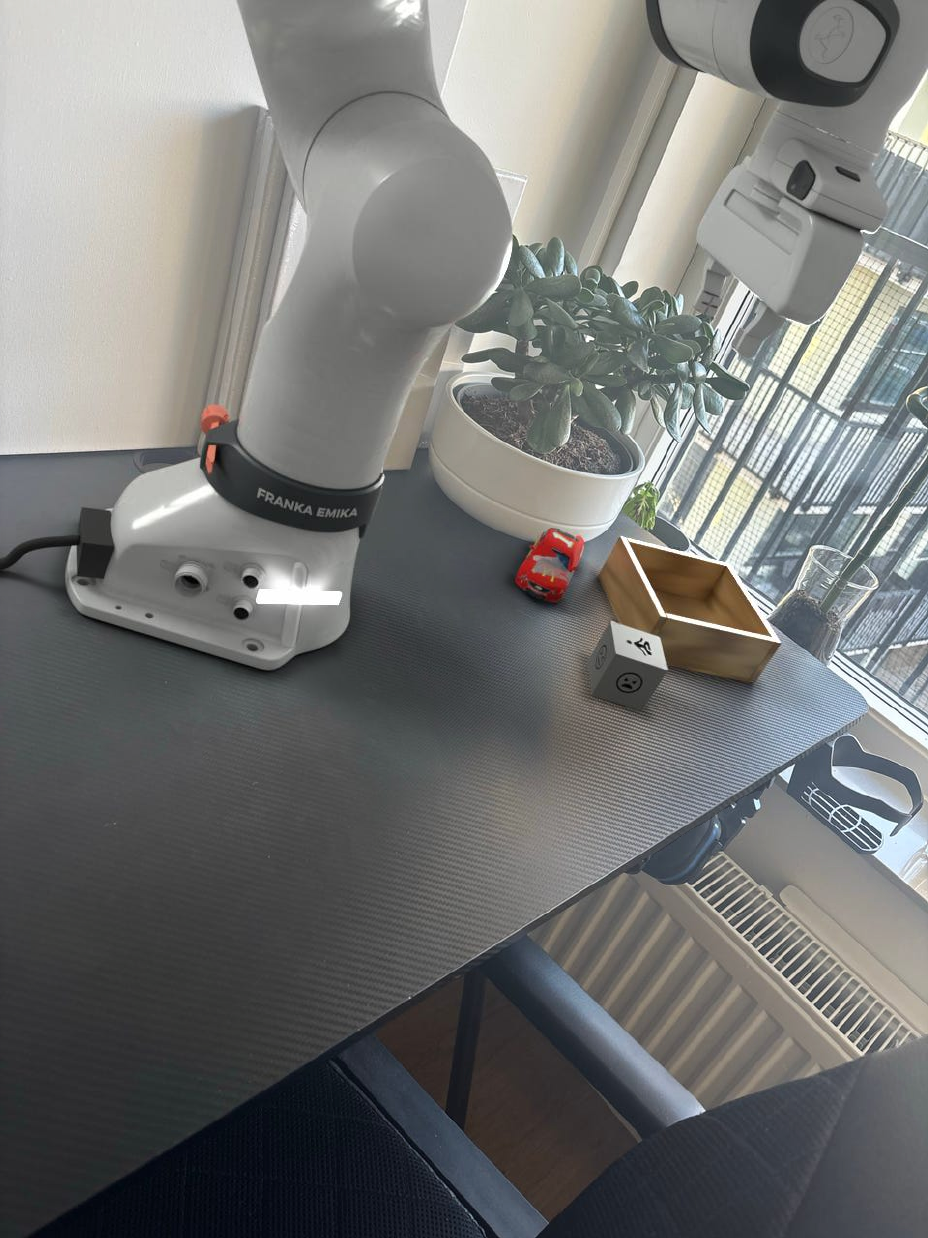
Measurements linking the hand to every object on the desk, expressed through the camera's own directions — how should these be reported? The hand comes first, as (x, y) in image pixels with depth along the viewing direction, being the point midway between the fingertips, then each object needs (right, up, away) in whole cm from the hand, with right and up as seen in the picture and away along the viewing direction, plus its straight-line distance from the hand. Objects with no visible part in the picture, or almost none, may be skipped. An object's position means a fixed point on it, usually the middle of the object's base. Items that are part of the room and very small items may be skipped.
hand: (720, 332), depth 83 cm
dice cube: (-9, -31, +4) cm, 33 cm away
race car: (-14, -21, +16) cm, 30 cm away
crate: (0, -26, +17) cm, 31 cm away
